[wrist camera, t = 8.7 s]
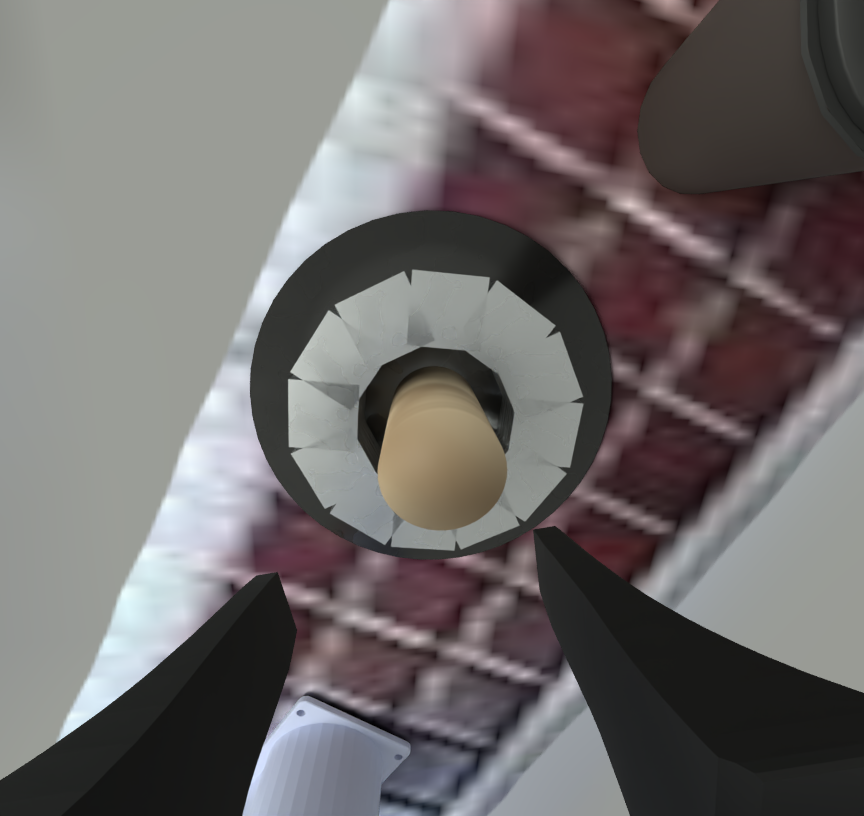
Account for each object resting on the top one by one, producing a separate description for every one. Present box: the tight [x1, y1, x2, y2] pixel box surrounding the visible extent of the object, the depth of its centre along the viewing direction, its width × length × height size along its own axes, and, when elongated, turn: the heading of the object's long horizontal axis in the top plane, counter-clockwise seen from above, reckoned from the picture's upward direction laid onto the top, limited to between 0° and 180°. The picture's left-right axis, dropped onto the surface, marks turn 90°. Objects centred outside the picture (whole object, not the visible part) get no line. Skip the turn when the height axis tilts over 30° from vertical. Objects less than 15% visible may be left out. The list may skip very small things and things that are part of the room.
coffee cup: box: [637, 0, 864, 194], centre depth 12 cm, size 8×8×10 cm
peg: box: [378, 366, 507, 530], centre depth 16 cm, size 4×4×7 cm
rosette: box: [250, 211, 612, 559], centre depth 18 cm, size 17×17×3 cm
